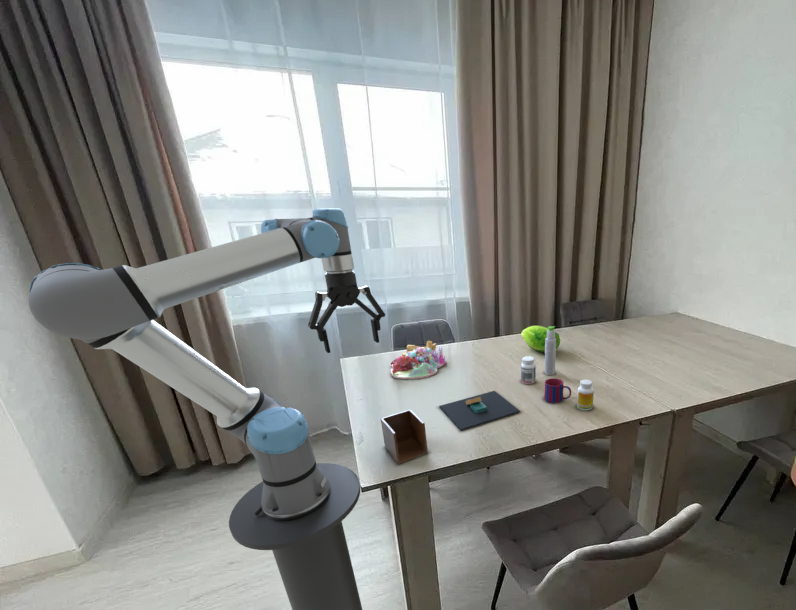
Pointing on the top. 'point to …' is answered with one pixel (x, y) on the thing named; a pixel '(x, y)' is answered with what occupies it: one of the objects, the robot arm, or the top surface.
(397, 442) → the open wooden box
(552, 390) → the mug
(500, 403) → the mat
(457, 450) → the top surface
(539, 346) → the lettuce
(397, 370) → the candy landscape model
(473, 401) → the block
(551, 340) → the bottle
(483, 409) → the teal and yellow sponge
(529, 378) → the pill bottle
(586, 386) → the supplement bottle
